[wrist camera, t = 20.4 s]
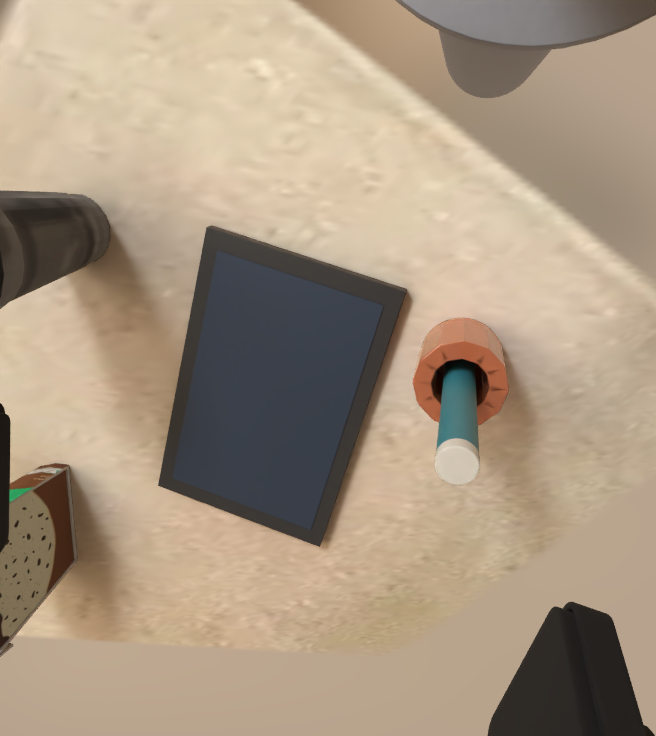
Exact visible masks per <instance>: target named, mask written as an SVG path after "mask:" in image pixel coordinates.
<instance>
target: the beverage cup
mask: <svg viewBox="0 0 656 736" xmlns="http://www.w3.org/2000/svg"><path fill="white" fill-rule="evenodd" d="M109 240H110V229H109V224H108V221H107V219H106V216H105V214H104V213H103V211H102V210H101V208H100V207H99V206H98V205H97V204H96V203H95V202H94V201H92V200H91V199H90V198H87V197H85V196H83V195H78V194H67V193H57V192H28V191H0V309H1V308H2V307H3V306H5V305H6V304H7V303H8V302H10V301H12V300H14V299H16V298H18V297H21V296H23V295H25V294H27V293H29V292H31V291H33V290H36V289H38V288H40V287H42V286H44V285H46V284H49V283H51V282H53V281H55V280H57V279H59V278H61V277H64V276H66V275H68V274H70V273H72V272H74V271H77V270H79V269H81V268H83V267H85V266H86V265H87V264H89V263H91V262H92V261H95V260H97V259H98V258H100V257H101V256H102V255H103V254H104V253H105V251H106V249H107V248H108V245H109Z"/></svg>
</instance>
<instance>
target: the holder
mask: <svg viewBox="0 0 656 736" xmlns="http://www.w3.org/2000/svg"><path fill="white" fill-rule="evenodd" d="M458 359H465V360H468V361H471V362H474V363H475V375H476V398H477V420H478V425H481V424H482V423H484V422H485V421H487V420H488V419H489V418H491V417H492V416H494V415H495V414H496V413H498V412H499V411H500V410H501V407H502V405H503V403H504V401H505V398H506V396H507V394H508V391H509V386H508V380H507V374H506V368H505V362H504V357H503V352H502V346H501V343H500V341H499V340H498V338H497V336H496V335H495V334H494V332H493V331H492V330H491V329H490V328H489V327H487V326H486V325H484V324H483V323H481V322H479V321H476V320H473V319H468V318H455V319H450V320H447V321H444V322H442V323H440V324H438V325H437V326H436V327H434V328H433V329H432V330H431V331H430V332H429V333H428V335H427V336H426V337H425V339H424V341H423V344H422V347H421V350H420V353H419V356H418V360H417V365H416V369H415V373H414V378H413V386H414V390H415V395H416V399H417V402H418V404H419V405H420V407H421V408H422V409H423V410H424V411H425V412H426V413H427V414H428V415H429V416H430V417H431V418H432V419H434V421H437V422H439V419H440V409H441V398H442V388H443V378H444V368H445V363H446V362H447V361H452V360H458Z"/></svg>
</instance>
